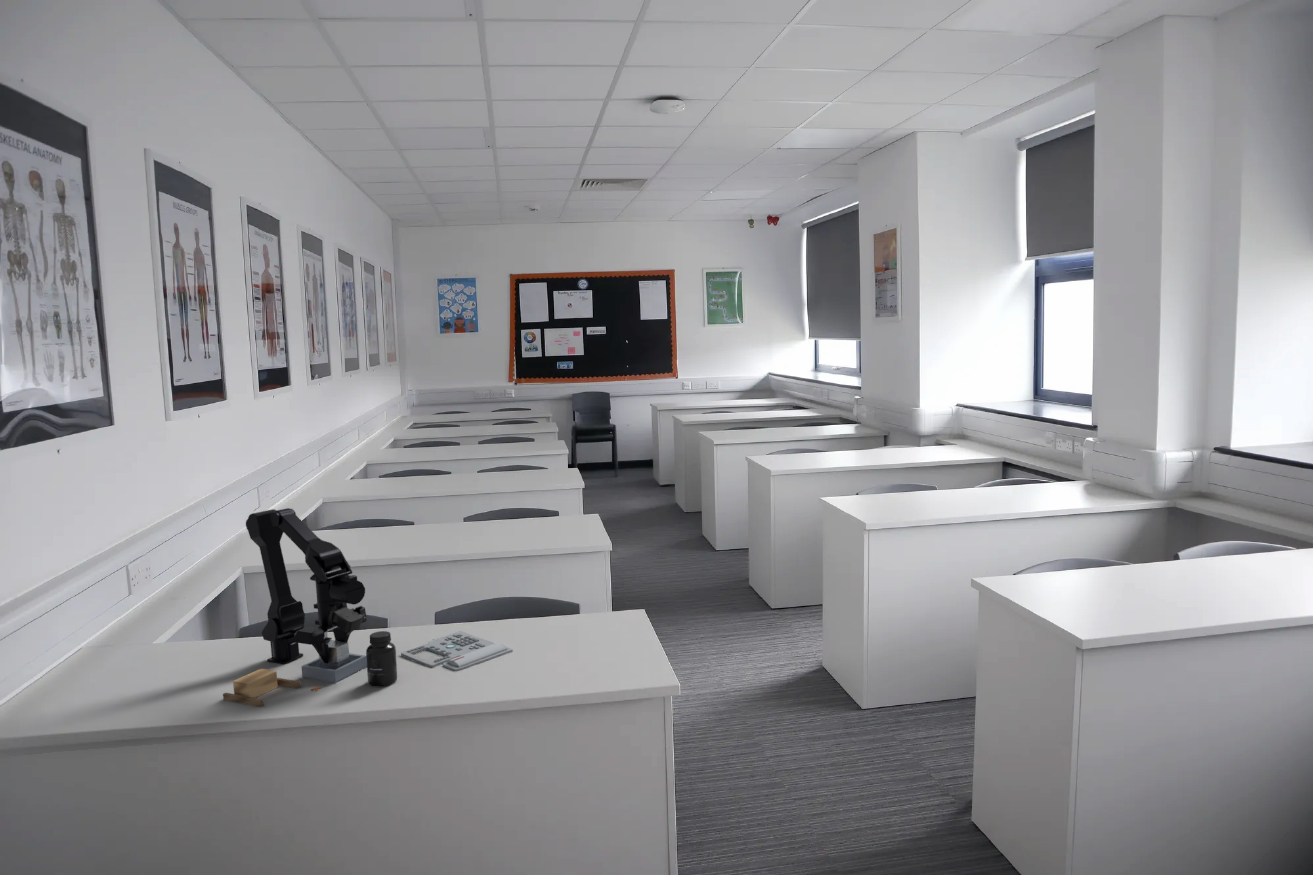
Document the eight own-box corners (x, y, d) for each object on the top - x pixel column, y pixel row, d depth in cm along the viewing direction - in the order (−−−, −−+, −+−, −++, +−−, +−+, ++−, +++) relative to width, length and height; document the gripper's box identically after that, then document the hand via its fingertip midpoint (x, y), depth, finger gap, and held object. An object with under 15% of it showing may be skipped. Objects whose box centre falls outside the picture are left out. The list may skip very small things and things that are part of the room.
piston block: (234, 697, 200) (233, 681, 200) (262, 684, 207) (261, 668, 207) (250, 700, 198) (248, 683, 198) (277, 687, 205) (276, 671, 205)
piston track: (223, 700, 199) (222, 693, 199) (268, 679, 211) (267, 673, 211) (278, 710, 192) (277, 704, 192) (321, 688, 204) (320, 682, 204)
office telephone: (513, 644, 224) (450, 667, 209) (514, 653, 224) (450, 677, 209) (459, 626, 239) (397, 646, 224) (460, 635, 240) (397, 656, 225)
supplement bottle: (370, 690, 202) (366, 641, 200) (366, 680, 208) (362, 632, 207) (400, 683, 205) (396, 635, 204) (395, 674, 211) (391, 627, 210)
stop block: (320, 672, 213) (317, 645, 212) (332, 666, 217) (329, 639, 216) (338, 675, 211) (336, 647, 210) (350, 669, 214) (348, 642, 213)
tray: (302, 677, 211) (301, 666, 211) (334, 662, 221) (333, 650, 220) (336, 683, 207) (335, 671, 206) (367, 667, 216) (366, 655, 216)
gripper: (325, 613, 200) (331, 677, 202) (380, 590, 217) (385, 650, 219) (290, 608, 204) (295, 671, 206) (347, 587, 221) (351, 645, 223)
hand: (334, 659), depth 213 cm, fingers open, 5 cm apart
